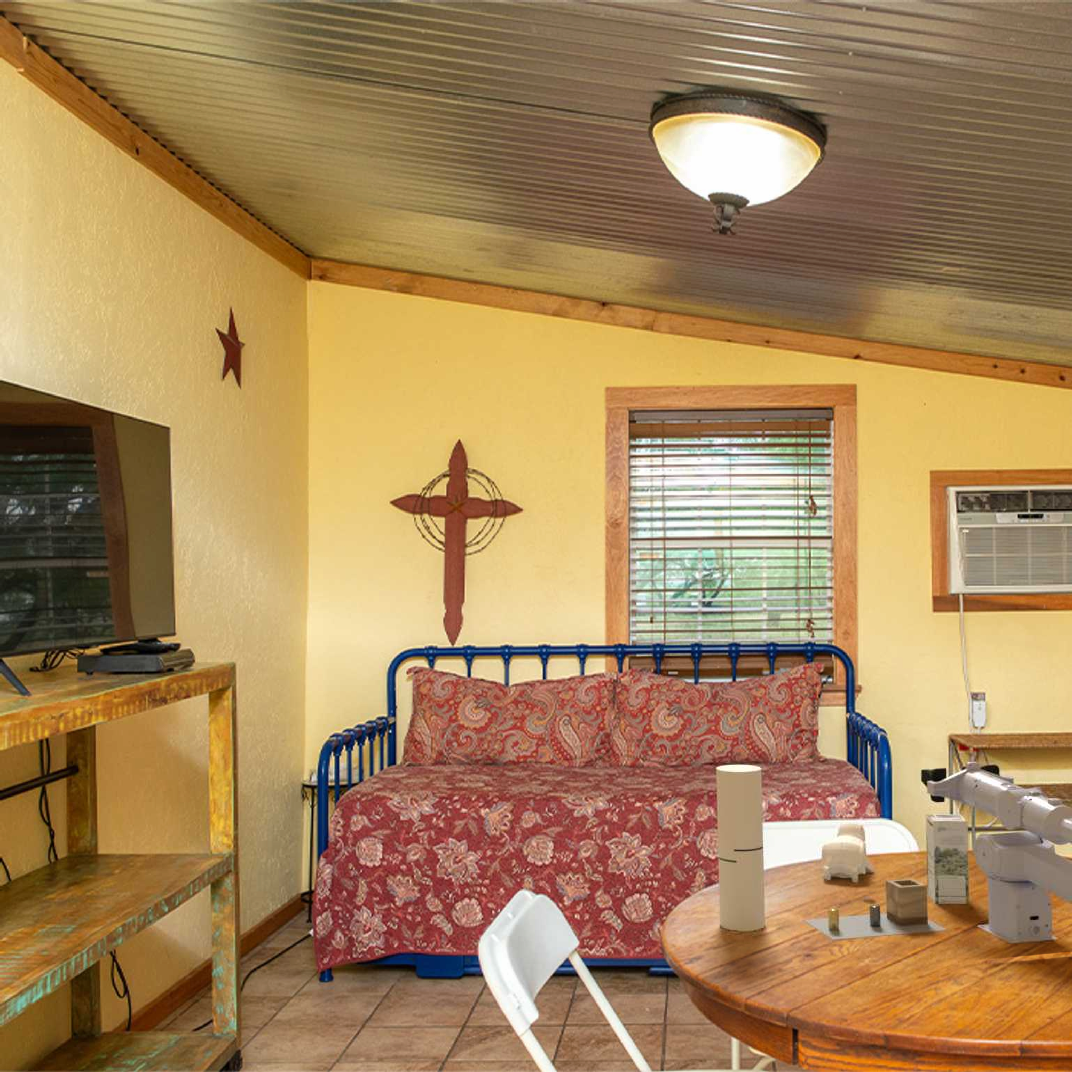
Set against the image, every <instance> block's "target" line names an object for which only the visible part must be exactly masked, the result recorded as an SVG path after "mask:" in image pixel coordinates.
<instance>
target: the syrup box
mask: <svg viewBox="0 0 1072 1072" xmlns="http://www.w3.org/2000/svg"><path fill="white" fill-rule="evenodd" d="M968 825H969V824H968V821H967V820H966V819H965V818H964V816H962V815H961V814H952V813H951V814H947V813H946V814H945V813H943V814H940V813H939V814H926V815H925V836H926V837H925V838H926V871H927V873H926V879H927V881H926V882H927V884H926V885H927V897H929V898H930V899H931V900H932V902H933V903H934V904H942V905H943V904H956V905H957V904H960V905H961V904H963V905H965V904H966V905H968V904H970V880H969V878H970V876H969V875H970V874H969V827H968Z"/></svg>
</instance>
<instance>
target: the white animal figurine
mask: <svg viewBox="0 0 1072 1072" xmlns="http://www.w3.org/2000/svg"><path fill="white" fill-rule="evenodd" d="M865 833H866V831H865V829H864V825H863V824H862V823H859V822H856V821H845V822H842V823H841V824H840V825H839V828H838V829H837V835H836V837H835V836H834V837H833V838H831V839H828V840H827V841H826V842H825V843H824V844H823V845H822V849H821V870H822V871H823V872H824V876H823V877H824V880H825V879H829V880H830V881H831V878H832V877H836V878H841V879H850V878H851V880H852V883H853V882H858V883H859V877H858V876H859V875H861V874H863V875H865V874H866V872H867V873H871V874H873V873H874V871H875V868H874V865H873V863H871V861H870V860H869V859H868V856H867V845H866V834H865Z"/></svg>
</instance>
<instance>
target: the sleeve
mask: <svg viewBox="0 0 1072 1072" xmlns="http://www.w3.org/2000/svg"><path fill="white" fill-rule="evenodd" d="M885 895H886V902H885V903H886V913H887V919H889V920H891V921H893V922H895V923H896V924H898V925H900V926H909V925H921V924H928V920H929V919H928V917H929V916H928V914H929V912H928V885H927V884H925V883H923V882H920V881H918V880H916V879H915V878H902V879H891V880H889V879H888V880H885Z"/></svg>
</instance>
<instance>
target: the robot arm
mask: <svg viewBox="0 0 1072 1072" xmlns="http://www.w3.org/2000/svg"><path fill="white" fill-rule="evenodd" d="M1000 771H1001V770H1000V767H999V766H998V765H996V764H987V765H983V766H981V765H980V763H979V762H978V761H968V762H967V763H966V764H965V766H962V769H961V771H959V772H956V773H954V774H952V775H950V776H948V777H947V768H946V767H939V768H933V769H929V768H928V769H926V768H925V769H921V770H920V781H921V782H922V784H923V785H925V786H924V787H926V789H927V790H926V793H927V794H929V796H930V800H931V801H932V802H934V803H945V802H946V801H945V799H948V800H951V801H955V802H958V803H961V804H964V805H967V806H971V807H975V808H976V809H979V810H981V811H983V812H986V813H988V814H989V815H992V816H993V817H996V818H997V819H998V822H999V823H1000V824H1001V826H1002V827H1003V828H1005V829H1006V830H1007V831H1013V832H999V833H984V832H983V833H981V834H979V835H977V837H976V839H975V842H974V845H973V855H974V860H975V862H976V865H977V866H978V868H979V869H980V871H981V872H982V874H983V875H984V876H987V902H988V904H987V906H988V924H978V925H977V928H980V929H982V930H983V931H986V932H988V933H990V934H992V935H993V936H994V937H995V936H996V937H998V938H1000V939H1002V940H1003V941H1005V942H1008V943H1010V944H1019V943H1028V942H1029V943H1031V942H1042V941H1052V940H1054V941H1055V940H1058V937H1056V936H1053V916H1052V915H1053V911H1052V910H1053V907H1052V900H1051V896H1050V895H1049V893H1051V894H1052V895H1054V896H1057V897H1058V898H1060V899H1062V900H1065V901H1066V902H1067V903H1070V904H1072V860H1070V859H1068V858H1066V857H1063V856H1061V855H1060V854H1058V853H1056V850H1055V845H1058V846H1062V845H1063V846H1064V845H1066V844H1071V845H1072V807H1070V806H1068V805H1065V804H1063V800H1062V799H1061V798H1058V797H1051V798H1049V797H1048V796H1047V794H1045V792H1044V791H1043V788H1042V787H1040V786H1036V787H1032V788H1024V787H1021V786H1018V785H1017V784H1015V780H1014V779H1015V778H1014V777H1011V776H1009V775H1001V774H1000V773H1001V772H1000ZM1016 829H1023V830H1025V831H1015V832H1014V830H1016ZM1048 892H1049V893H1048Z"/></svg>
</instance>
